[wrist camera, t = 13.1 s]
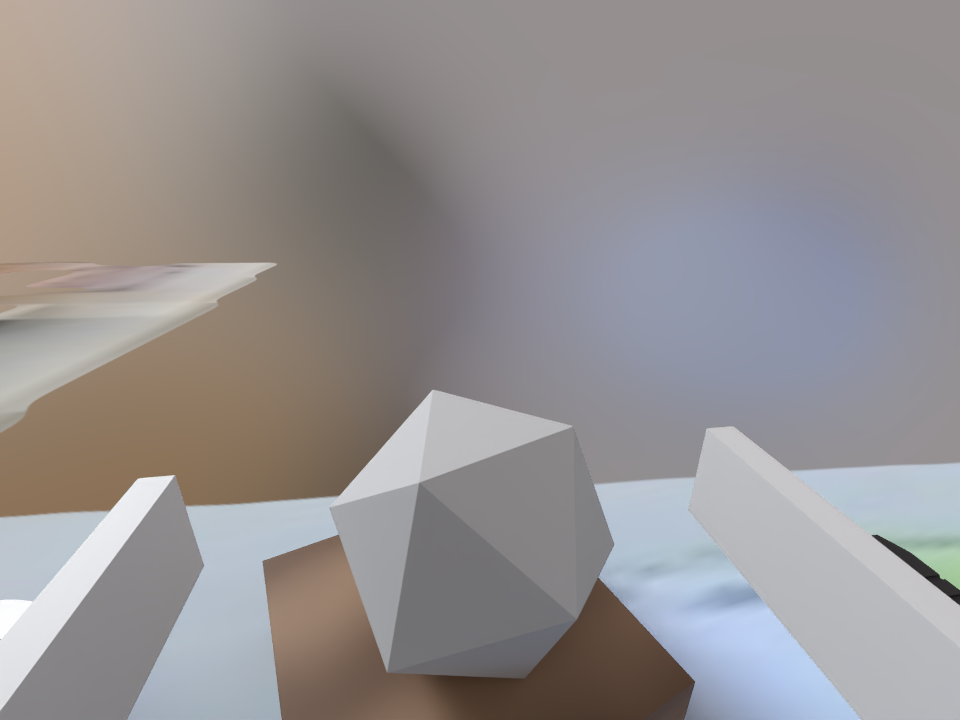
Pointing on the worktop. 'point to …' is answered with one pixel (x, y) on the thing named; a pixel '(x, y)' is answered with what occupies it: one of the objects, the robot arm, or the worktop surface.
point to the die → (473, 539)
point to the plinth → (443, 698)
